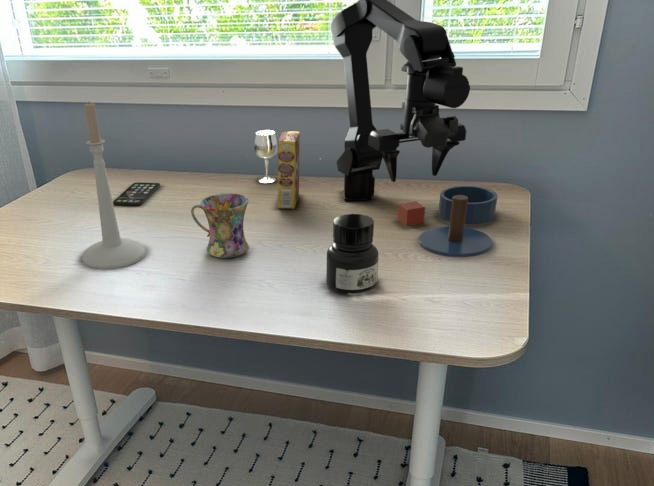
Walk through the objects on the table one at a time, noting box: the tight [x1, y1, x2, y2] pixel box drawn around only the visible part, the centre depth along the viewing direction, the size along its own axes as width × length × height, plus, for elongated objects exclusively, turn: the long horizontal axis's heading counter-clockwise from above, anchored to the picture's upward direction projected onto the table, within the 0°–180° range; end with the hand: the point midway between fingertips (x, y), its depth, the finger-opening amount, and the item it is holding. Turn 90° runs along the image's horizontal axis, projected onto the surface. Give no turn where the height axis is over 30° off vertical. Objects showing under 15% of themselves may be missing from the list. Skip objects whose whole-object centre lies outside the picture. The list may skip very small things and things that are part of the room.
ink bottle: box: [325, 213, 379, 295], centre depth 119 cm, size 10×9×12 cm
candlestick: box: [81, 101, 146, 270], centre depth 131 cm, size 13×13×30 cm
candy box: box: [277, 130, 301, 210], centre depth 156 cm, size 9×4×15 cm, turn 169°
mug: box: [190, 192, 250, 259], centre depth 135 cm, size 12×9×11 cm
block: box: [397, 201, 426, 227], centre depth 144 cm, size 4×4×4 cm
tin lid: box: [418, 195, 493, 258], centre depth 132 cm, size 14×14×10 cm
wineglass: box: [253, 129, 278, 184], centre depth 172 cm, size 6×6×12 cm
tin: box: [437, 185, 499, 226], centre depth 145 cm, size 11×12×5 cm
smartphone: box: [112, 181, 161, 206], centre depth 170 cm, size 7×1×15 cm
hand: (413, 178), depth 140 cm, fingers open, 9 cm apart
